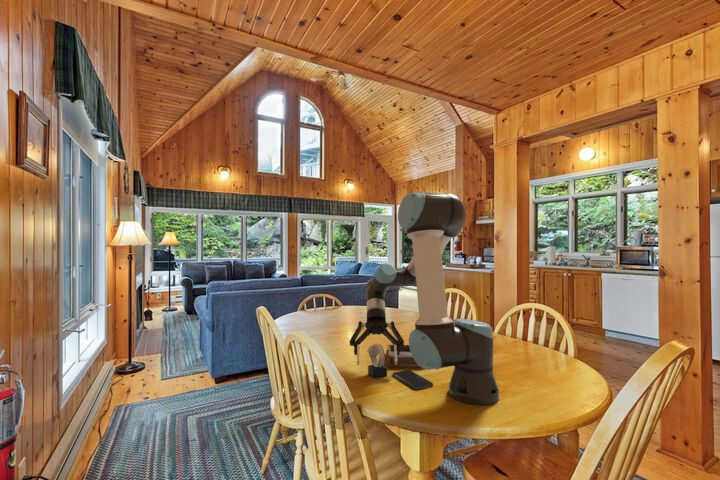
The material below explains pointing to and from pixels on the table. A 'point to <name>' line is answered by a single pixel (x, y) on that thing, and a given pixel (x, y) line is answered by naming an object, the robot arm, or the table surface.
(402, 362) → the walnut tray
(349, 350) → the table surface
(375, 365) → the watch
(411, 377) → the phone
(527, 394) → the table surface
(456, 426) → the table surface
